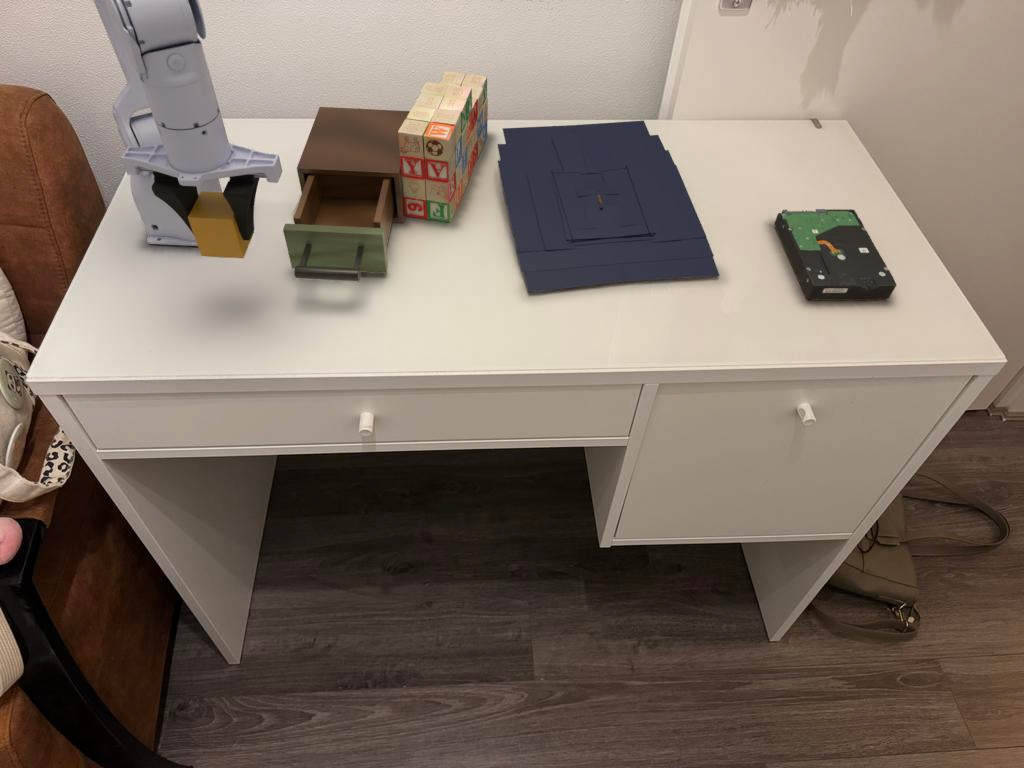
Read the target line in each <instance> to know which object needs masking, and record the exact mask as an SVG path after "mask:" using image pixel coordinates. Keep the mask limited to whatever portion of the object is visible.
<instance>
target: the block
mask: <svg viewBox="0 0 1024 768" xmlns="http://www.w3.org/2000/svg"><path fill="white" fill-rule="evenodd" d="M223 192H224V191H222V192H205V191H201V192H200V194H199V196H198V198H197V200H196V202H195V204H194V206H193V208H192V210H191V212H190V214H189V216H188V220H189V222H190V225H191V228H192V231H193V234H194V237H195V239H196V242H197V245H198V246H197V248H198V251H199V253H200V256H201V257H209V258H224V259H225V258H228V259H244V258H245V255H246V253H247V251H248V248H249V246H250V243H251V241H252V240H253V239H252V238H253V236H254V234H255V231H254V232H253V234H252V236H251V239H250V240H249V241H248V240H243V238H242V236H241V234H240V232H239V228H238V225H237V221H236V218H235V215H234V213H233V211H232V209H231V207H230V205H229V203H228V202H227V200H226V199H225V197H224V195H223Z"/></svg>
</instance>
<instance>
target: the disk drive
mask: <svg viewBox="0 0 1024 768" xmlns="http://www.w3.org/2000/svg"><path fill="white" fill-rule="evenodd" d="M774 226H775V230H776V232H777V235H778V237H779V239H780V242H781V244H782V247H783V249H784V251H785V253H786V255H787V257H788V260H789V261H790V264H791V266H792V269H793V271H794V273H795V275H796V277H797V280H798V282H799V285H800V286H801V289H802V291H803V293H804V295H805V296H806V299H807V300H820V301H838V300H839V301H841V300H842V301H854V300H858V301H860V300H861V301H862V300H864V301H865V300H869V301H870V300H872V301H873V300H889V299H890V298H891V296H892V294H893V292H894V291H895V289H896V287H897V283H896V281H895V279H894V276H893V274H892V272H891V271H890V270H889V268H888V266H887V264H886V262H885V261H884V259H883V257H882V256H881V254H880V252H879V251H878V249H877V247H876V245H875V243H874V242H873V240H872V238H871V236H870V234H869V232H868V231H867V230H866V228H865V226H864V224H863V222H862V220H861V218H860V217H859V215H858V213H857V212H856V210H855V209H852V208H851V209H848V208H847V209H845V208H844V209H841V208H840V209H839V208H838V209H831V208H829V209H825V208H816V209H815V210H788V209H782V210H781V212H778V213H777V215H776V218H775V221H774Z"/></svg>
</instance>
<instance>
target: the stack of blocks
mask: <svg viewBox="0 0 1024 768" xmlns="http://www.w3.org/2000/svg"><path fill="white" fill-rule="evenodd" d="M409 111H410V112H409V114H408V116H407V118H406V119H405V120H404V122H403V124H402V126H401V127H400V129H399V131H398V139H399V149H400V165H401V175H402V182H403V194H404V196H403V198H404V210H405V217H411V218H417V219H424V220H431V221H437V222H444V223H449V224H450V223H451V222H452V220H453V218H454V215H455V213H456V210H457V209H458V207H459V205H460V203H461V200H462V198H463V195H464V194H465V191H466V189H467V186H468V184H469V180H470V177H471V175H472V172H473V169H474V167H475V165H476V162H477V160H478V159H479V157H480V155H481V152H482V150H483V147H484V145H485V143H486V140H487V138H488V122H489V121H488V120H489V119H488V118H489V115H488V114H489V98H488V76H485V75H477V74H472V73H460V72H453V71H447V70H446V71H444V72H443V74H442V75H441V77H440V80H439V82H438V83H437V82H430V81H426V82H425V84H424V85H423V87H422V89H421V91H420V93H419V95H418V97H417V99H416V100H415V102H414V105H413V106H412V107H411V109H410V110H409Z"/></svg>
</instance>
